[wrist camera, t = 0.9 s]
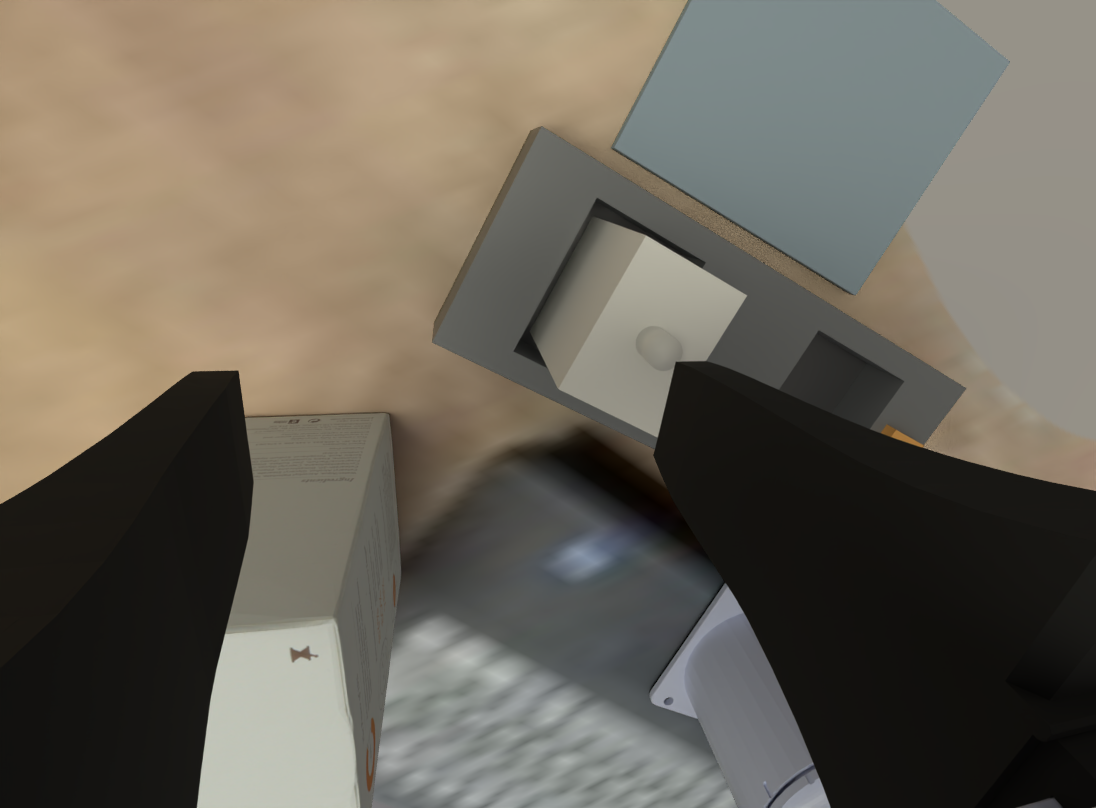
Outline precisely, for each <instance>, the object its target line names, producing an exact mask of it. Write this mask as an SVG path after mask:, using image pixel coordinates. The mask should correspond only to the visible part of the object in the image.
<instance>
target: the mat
mask: <svg viewBox="0 0 1096 808" xmlns="http://www.w3.org/2000/svg"><path fill="white" fill-rule="evenodd" d="M1009 63H1010V61H1008V60H1007V59H1006V58H1005V57H1004V56H1002V55H1001V54H1000V53H999V52H998V51H996V50H995V49H994V48H993V47H992V46H990V45H989V44H988V43H987V42H986V41H984V40H983V39H982V38H981V37H980V36H978V35H977V34H976V33H975V32H973V31H972V30H971V29H970V28H969V27H967V26H966V25H965V24H964V23H963V22H961V21H960V20H959V19H958V18H957V17H955V16H954V15H953V14H952V13H951V12H949V11H948V10H947V9H946V8H944V7H943V6H942V5H941V4H940V3H938V2H937V1H936V0H688V2H687V4H686V6H685V8H684V9H683V11H682V13H681V15H680V17H679V19H678V21H677V23H676V25H675V27H674V29H673V30H672V32H671V34H670V36H669V38H668V40H667V42H666V44H665V46H664V48H663V50H662V51H661V53H660V55H659V57H658V59H657V61H656V63H655V65H654V67H653V69H652V71H651V72H650V74H649V76H648V78H647V80H646V82H645V84H644V86H643V88H642V90H641V91H640V93H639V95H638V97H637V99H636V101H635V103H634V105H633V107H632V109H631V111H630V112H629V114H628V116H627V118H626V120H625V122H624V124H623V126H622V128H621V130H620V132H619V133H618V135H617V137H616V139H615V141H614V143H613V145H612V147H611V149H613V150H615V151H616V152H618V153H620V154H621V155H623V156H625V157H626V158H628V159H629V160H631V161H633V162H634V163H636V164H638V165H639V166H641V167H643V168H644V169H646V170H647V171H649V172H651V173H652V174H654V175H656V176H657V177H659V178H661V179H662V180H664V181H666V182H667V183H669V184H670V185H672V186H674V187H675V188H677V189H679V190H680V191H682V192H684V193H685V194H687V195H688V196H690V197H692V198H693V199H695V200H697V201H698V202H700V203H702V204H703V205H705V206H706V207H708V208H710V209H711V210H713V211H715V212H716V213H718V214H720V215H721V216H723V217H724V218H726V219H728V220H729V221H731V222H733V223H734V224H736V225H738V226H739V227H741V228H742V229H744V230H746V231H747V232H749V233H751V234H752V235H754V236H756V237H757V238H759V239H760V240H762V241H764V242H765V243H767V244H769V245H770V246H772V247H774V248H775V249H777V250H779V251H780V252H782V253H783V254H785V255H787V256H788V257H790V258H792V259H793V260H795V261H797V262H798V263H800V264H801V265H803V266H805V267H806V268H808V269H810V270H811V271H813V272H815V273H816V274H818V275H819V276H821V277H823V278H824V279H826V280H828V281H829V282H831V283H833V284H834V285H836V286H837V287H839V288H841V289H842V290H844V291H846V292H847V293H849V294H852V295H855V296H856V294H857V293H858V291H859V290H860V288H861V287H862V285H863V284H864V282H865V281H866V279H867V278H868V276H869V275H870V273H871V272H872V270H873V268H874V267H875V265H876V264H877V262H878V261H879V259H880V258H881V256H882V255H883V253H884V252H885V250H886V249H887V247H888V246H889V244H890V243H891V241H892V240H893V238H894V237H895V235H896V234H897V232H898V231H899V229H900V228H901V226H902V225H903V223H904V222H905V220H906V219H907V217H908V216H909V214H910V212H911V211H912V210H913V208H914V206H915V205H916V203H917V202H918V200H919V199H920V197H921V196H922V194H923V193H924V191H925V190H926V188H927V187H928V185H929V184H930V182H931V181H932V179H933V178H934V176H935V174H936V173H937V172H938V170H939V169H940V167H941V166H942V164H943V163H944V161H945V160H946V158H947V157H948V155H949V154H950V152H951V150H952V149H953V147H954V146H955V144H956V143H957V141H958V140H959V138H960V137H961V135H962V134H963V132H964V131H965V129H966V128H967V126H968V125H969V123H970V122H971V120H972V119H973V117H974V116H975V114H976V113H977V111H978V110H979V108H980V107H981V105H982V104H983V102H984V101H985V99H986V97H987V96H988V95H989V93H990V92H991V90H992V89H993V87H994V85H995V84H996V83H997V81H998V79H999V78H1000V76H1001V75H1002V73H1003V72H1004V70H1005V69H1006V67H1007V66H1008V64H1009Z"/></svg>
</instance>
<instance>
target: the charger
mask: <svg viewBox="0 0 1096 808" xmlns="http://www.w3.org/2000/svg"><path fill="white" fill-rule="evenodd" d="M746 297H747V295H745V294H744V293H742V292H740V291H739V290H737V289H735V288H734V287H732V286H730V285H729V284H727V283H725V282H724V281H722V280H720V279H719V278H717V277H715V276H714V275H712V274H710V273H708V272H707V271H705V270H703V269H702V268H700V267H698V266H697V265H695V264H693V263H692V262H690V261H688V260H687V259H685V258H683V257H682V256H680V255H678V254H677V253H675V252H673V251H672V250H670V249H668V248H666V247H665V246H663V245H661V244H660V243H658V242H656V241H655V240H653V239H651V238H650V237H648V236H646V235H644V234H641V233H638V232H635V231H633V230H630V229H627V228H624V227H622V226H619V225H616V224H613V223H610V222H608V221H605V220H602V219H599V218H597V217H594V216H593V217H592V219H591V220H590V222H589V224H588V226H587V228H586V230H585V231H584V233H583V235H582V237H581V239H580V241H579V242H578V244H577V246H576V248H575V250H574V252H573V253H572V255H571V257H570V259H569V261H568V263H567V264H566V266H565V268H564V270H563V272H562V273H561V275H560V277H559V279H558V281H557V283H556V284H555V286H554V288H553V290H552V292H551V294H550V295H549V297H548V299H547V301H546V303H545V305H544V306H543V308H542V310H541V312H540V314H539V316H538V317H537V319H536V321H535V323H534V325H533V326H532V328H531V330H530V333H531V335H532V337H533V339H534V341H535V343H536V345H537V347H538V349H539V351H540V353H541V355H542V357H543V359H544V361H545V364H546V366H547V368H548V370H549V372H550V374H551V376H552V378H553V380H554V382H555V384H556V386H557V388H558V389H559V390H561V391H563V392H565V393H567V394H569V395H571V396H573V397H575V398H577V399H579V400H582V401H584V402H586V403H588V404H590V405H592V406H594V407H596V408H598V409H600V410H602V411H604V412H606V413H608V414H610V415H612V416H614V417H616V418H618V419H620V420H623V421H625V422H627V423H629V424H631V425H633V426H635V427H637V428H639V429H641V430H643V431H645V432H647V433H649V434H651V435H653V436H655V437H657V438H658V434H659V430H660V426H661V422H662V417H663V413H664V409H665V405H666V401H667V396H668V392H669V388H670V384H671V379H672V375H673V371H674V367H675V363H676V362H682V361H706V360H707V359H708V357H709V355H710V354H711V352H712V351H713V349H714V347H715V346H716V344H717V343H718V341H719V340H720V338H721V336H722V335H723V333H724V332H725V330H726V328H727V327H728V325H729V324H730V322H731V320H732V319H733V317H734V316H735V314H736V313H737V311H738V309H739V308H740V306H741V305H742V303H743V301H744V300H745V298H746Z"/></svg>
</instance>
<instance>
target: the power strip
mask: <svg viewBox="0 0 1096 808" xmlns="http://www.w3.org/2000/svg"><path fill="white" fill-rule="evenodd" d="M593 216H594V217H597V218H599V219H602V220H605V221H608V222H610V223H613V224H616V225H619V226H622V227H624V228H627V229H630V230H633V231H635V232H638V233H641V234H644V235H646V236H648V237H650V238H651V239H653V240H655V241H656V242H658V243H660V244H661V245H663V246H665V247H666V248H668V249H670V250H672V251H673V252H675V253H677V254H678V255H680V256H682V257H683V258H685V259H687V260H688V261H690V262H692V263H693V264H695V265H697V266H698V267H700V268H702V269H703V270H705V271H707V272H708V273H710V274H712V275H714V276H715V277H717V278H719V279H720V280H722V281H724V282H725V283H727V284H729V285H730V286H732V287H734V288H735V289H737V290H739V291H740V292H742V293H744V294H745V295H747V297H746V298H745V300H744V301H743V303H742V305H741V306H740V308H739V309H738V311H737V313H736V314H735V316H734V317H733V319H732V320H731V322H730V324H729V325H728V327H727V328H726V330H725V332H724V333H723V335H722V336H721V338H720V340H719V341H718V343H717V344H716V346H715V347H714V349H713V351H712V352H711V354H710V355H709V357H708V359H707V360H706V361H708V362H711V363H715V364H718V365H721V366H724V367H727V368H729V369H732V370H734V371H737V372H739V373H742V374H744V375H746V376H749V377H751V378H753V379H756V380H758V381H760V382H762V383H765V384H767V385H769V386H771V387H773V388H776V389H778V390H780V391H782V392H785V393H787V394H789V395H791V396H793V397H796V398H798V399H800V400H802V401H804V402H807V403H809V404H811V405H814V406H816V407H818V408H820V409H823V410H825V411H827V412H830V413H832V414H834V415H837V416H839V417H841V418H844V419H846V420H849V421H851V422H854V423H856V424H859V425H861V426H864V427H866V428H869V429H871V430H874V431H876V432H879V433H882V434H884V435H887V436H890V437H892V438H895V439H898V440H901V441H904V442H907V443H910V444H913V445H916V446H919V447H922V448H923V447H924V444H925V442H926V441H927V440H928V438H929V437H930V436H931V435H932V433H933V432H934V431H935V429H936V428H937V427H938V425H939V424H940V423H941V421H942V420H943V419H944V417H945V416H946V415H947V413H948V412H949V411H950V409H951V408H952V407H953V405H954V404H955V403H956V401H957V400H958V399H959V397H960V396H961V395H962V393H963V392H964V391H965V389H966V388H965V387H963V386H962V385H960V384H958V383H957V382H955V381H954V380H952V379H950V378H949V377H947V376H945V375H944V374H942V373H941V372H939V371H937V370H936V369H934V368H933V367H931V366H929V365H928V364H926V363H924V362H923V361H921V360H920V359H918V358H916V357H915V356H913V355H911V354H910V353H908V352H907V351H905V350H903V349H902V348H900V347H898V346H897V345H895V344H894V343H892V342H890V341H889V340H887V339H886V338H884V337H882V336H881V335H879V334H877V333H876V332H874V331H873V330H871V329H869V328H868V327H866V326H864V325H863V324H861V323H860V322H858V321H856V320H855V319H853V318H851V317H850V316H848V315H847V314H845V313H843V312H842V311H840V310H839V309H837V308H835V307H834V306H832V305H830V304H829V303H827V302H826V301H824V300H822V299H821V298H819V297H817V296H816V295H814V294H813V293H811V292H809V291H808V290H806V289H804V288H803V287H801V286H800V285H798V284H796V283H795V282H793V281H792V280H790V279H788V278H787V277H785V276H783V275H782V274H780V273H779V272H777V271H775V270H774V269H772V268H770V267H769V266H767V265H766V264H764V263H762V262H761V261H759V260H757V259H756V258H754V257H753V256H751V255H749V254H748V253H746V252H745V251H743V250H741V249H740V248H738V247H736V246H735V245H733V244H732V243H730V242H728V241H727V240H725V239H723V238H722V237H720V236H719V235H717V234H715V233H714V232H712V231H711V230H709V229H707V228H706V227H704V226H702V225H701V224H699V223H698V222H696V221H694V220H693V219H691V218H689V217H688V216H686V215H685V214H683V213H681V212H680V211H678V210H676V209H675V208H673V207H672V206H670V205H668V204H667V203H665V202H664V201H662V200H660V199H659V198H657V197H655V196H654V195H652V194H651V193H649V192H647V191H646V190H644V189H642V188H641V187H639V186H638V185H636V184H634V183H633V182H631V181H629V180H628V179H626V178H625V177H623V176H621V175H620V174H618V173H617V172H615V171H613V170H612V169H610V168H608V167H607V166H605V165H604V164H602V163H600V162H599V161H597V160H595V159H594V158H592V157H591V156H589V155H587V154H586V153H584V152H582V151H581V150H579V149H578V148H576V147H574V146H573V145H571V144H570V143H568V142H566V141H565V140H563V139H561V138H560V137H558V136H557V135H555V134H553V133H552V132H550V131H548V130H547V129H545V128H544V127H542V126H541V127H538V128H536V129H533V130H531V131H530V133H529V135H528V137H527V139H526V141H525V143H524V145H523V147H522V149H521V151H520V153H519V155H518V157H517V159H516V161H515V163H514V165H513V167H512V169H511V171H510V173H509V175H508V177H507V179H506V181H505V183H504V185H503V187H502V189H501V191H500V193H499V195H498V197H497V199H496V201H495V202H494V204H493V206H492V208H491V210H490V212H489V214H488V216H487V218H486V220H485V222H484V224H483V226H482V228H481V230H480V232H479V234H478V236H477V238H476V240H475V242H474V244H473V246H472V248H471V250H470V252H469V254H468V256H467V258H466V260H465V262H464V264H463V266H462V268H461V270H460V272H459V274H458V276H457V278H456V280H455V282H454V284H453V286H452V288H451V290H450V292H449V294H448V296H447V298H446V300H445V302H444V304H443V306H442V308H441V310H440V312H439V314H438V316H437V318H436V320H435V322H434V329H433V339H432V343H434V344H436V345H439V346H441V347H443V348H445V349H447V350H449V351H451V352H453V353H455V354H457V355H459V356H461V357H464V358H466V359H468V360H470V361H472V362H474V363H476V364H478V365H480V366H482V367H484V368H486V369H489V370H491V371H493V372H495V373H497V374H499V375H501V376H503V377H505V378H507V379H509V380H511V381H513V382H516V383H518V384H520V385H522V386H524V387H526V388H528V389H530V390H532V391H534V392H536V393H538V394H541V395H543V396H545V397H547V398H549V399H551V400H553V401H555V402H557V403H559V404H561V405H563V406H566V407H568V408H570V409H572V410H574V411H576V412H578V413H580V414H582V415H584V416H586V417H588V418H591V419H593V420H595V421H597V422H599V423H601V424H603V425H605V426H607V427H609V428H611V429H613V430H616V431H618V432H620V433H622V434H624V435H626V436H628V437H630V438H632V439H634V440H636V441H638V442H641V443H643V444H645V445H647V446H649V447H651V448H653V449H655V447H656V443H657V437H655V436H653V435H651V434H649V433H647V432H645V431H643V430H641V429H639V428H637V427H635V426H633V425H631V424H629V423H627V422H625V421H623V420H620V419H618V418H616V417H614V416H612V415H610V414H608V413H606V412H604V411H602V410H600V409H598V408H596V407H594V406H592V405H590V404H588V403H586V402H584V401H582V400H579V399H577V398H575V397H573V396H571V395H569V394H567V393H565V392H563V391H561V390H559V389H558V388H557V386H556V384H555V382H554V380H553V378H552V376H551V374H550V372H549V370H548V368H547V366H546V364H545V361H544V359H543V357H542V355H541V353H540V351H539V349H538V347H537V345H536V343H535V341H534V339H533V337H532V335H531V333H530V330H531V328H532V326H533V325H534V323H535V321H536V319H537V317H538V316H539V314H540V312H541V310H542V308H543V306H544V305H545V303H546V301H547V299H548V297H549V295H550V294H551V292H552V290H553V288H554V286H555V284H556V283H557V281H558V279H559V277H560V275H561V273H562V272H563V270H564V268H565V266H566V264H567V263H568V261H569V259H570V257H571V255H572V253H573V252H574V250H575V248H576V246H577V244H578V242H579V241H580V239H581V237H582V235H583V233H584V231H585V230H586V228H587V226H588V224H589V222H590V220H591V219H592V217H593Z"/></svg>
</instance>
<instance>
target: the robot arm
mask: <svg viewBox="0 0 1096 808" xmlns="http://www.w3.org/2000/svg"><path fill="white" fill-rule="evenodd" d="M653 456H654V458H655V460H656V463H657V465H658V468H659V470H660V473H661V475H662V477H663V480H664V482H665V484H666V486H667V488H668V491H669V493H670V495H671V497H672V499H673V501H674V503H675V504H676V506H677V508H678V509H679V511H680V512H681V514H682V516H683V517H684V519H685V520H686V522H687V524H688V525H689V527H690V528H691V530H692V532H693V533H694V535H695V536H696V538H697V539H698V541H699V543H700V544H701V546H702V547H703V549H704V550H705V552H706V553H707V555H708V556H709V558H710V560H711V561H712V563H713V564H714V566H715V567H716V569H717V570H718V572H719V574H720V575H721V577H722V578H723V580H724V581H725V584H724V585H723V587H722V588H721V590H720V591H719V593H718V594H717V596H716V597H715V598H714V600H713V601H712V603H711V604H710V606H709V607H708V609H707V610H706V611H705V613H704V614H703V616H702V617H701V619H700V620H699V622H698V623H697V625H696V626H695V627H694V629H693V630H692V632H691V633H690V635H689V636H688V638H687V639H686V640H685V642H684V643H683V645H682V646H681V648H680V649H679V651H678V652H677V653H676V655H675V656H674V658H673V659H672V661H671V662H670V664H669V665H668V667H667V668H666V669H665V671H664V672H663V674H662V675H661V677H660V678H659V680H658V681H657V682H656V684H655V685H654V687H653V688H652V690H651V691H650V694H649V695H650V699H651V702H652V703H653V704H654V705H657V706H660V707H663V708H666V709H669V710H672V711H675V712H678V713H681V714H684V715H687V716H690V717H693V718H696V719H698V720H699V722H700V724H701V726H702V729H703V731H704V733H705V735H706V738H707V740H708V742H709V744H710V746H711V749H712V751H713V753H714V755H715V758H716V760H717V762H718V764H719V767H720V769H721V771H722V773H723V775H724V778H725V780H726V782H727V784H728V787H729V789H730V791H731V793H732V796H733V798H734V800H735V802H736V805H737V807H738V808H1096V491H1093V490H1088V489H1083V488H1077V487H1072V486H1067V485H1062V484H1057V483H1052V482H1048V481H1043V480H1039V479H1034V478H1030V477H1026V476H1021V475H1017V474H1013V473H1009V472H1005V471H1001V470H998V469H994V468H990V467H986V466H982V465H979V464H975V463H971V462H967V461H964V460H960V459H957V458H954V457H950V456H947V455H943V454H940V453H937V452H934V451H931V450H928V449H925V448H922V447H919V446H916V445H913V444H910V443H907V442H904V441H901V440H898V439H895V438H892V437H890V436H887V435H884V434H882V433H879V432H876V431H874V430H871V429H869V428H866V427H864V426H861V425H859V424H856V423H854V422H851V421H849V420H846V419H844V418H841V417H839V416H837V415H834V414H832V413H830V412H827V411H825V410H823V409H820V408H818V407H816V406H814V405H811V404H809V403H807V402H804V401H802V400H800V399H798V398H796V397H793V396H791V395H789V394H787V393H785V392H782V391H780V390H778V389H776V388H773V387H771V386H769V385H767V384H765V383H762V382H760V381H758V380H756V379H753V378H751V377H749V376H746V375H744V374H742V373H739V372H737V371H734V370H732V369H729V368H727V367H724V366H721V365H718V364H715V363H711V362H708V361H682V362H676V363H675V367H674V371H673V375H672V379H671V384H670V388H669V392H668V396H667V401H666V405H665V409H664V413H663V417H662V422H661V426H660V430H659V434H658V438H657V443H656V447H655V451H654V455H653ZM253 485H254V480H253V473H252V465H251V458H250V451H249V444H248V437H247V429H246V422H245V415H244V408H243V401H242V393H241V386H240V379H239V372H238V371H198V372H191V373H190V374H188V375H187V376H185V377H184V378H183V379H181V380H180V381H179V382H177V383H176V384H175V385H173V386H172V387H171V388H169V389H168V390H167V391H166V392H164V393H163V394H162V395H161V396H159V397H158V398H157V399H155V400H154V401H153V402H152V403H150V404H149V405H148V406H146V407H145V408H144V409H143V410H141V411H140V412H139V413H137V414H136V415H135V416H133V417H132V418H131V419H129V420H128V421H127V422H125V423H124V424H123V425H121V426H120V427H119V428H117V429H116V430H115V431H113V432H112V433H111V434H109V435H108V436H107V437H105V438H104V439H102V440H101V441H99V442H98V443H96V444H95V445H93V446H92V447H90V448H89V449H87V450H86V451H84V452H83V453H81V454H80V455H79V456H77V457H76V458H74V459H73V460H71V461H70V462H68V463H67V464H65V465H64V466H62V467H61V468H59V469H58V470H56V471H55V472H53V473H52V474H50V475H49V476H47V477H46V478H44V479H42V480H41V481H39V482H38V483H36V484H34V485H33V486H31V487H29V488H28V489H26V490H24V491H23V492H21V493H19V494H18V495H16V496H14V497H12V498H11V499H9V500H7V501H5V502H3V503H2V504H0V808H197V803H198V795H199V786H200V778H201V769H202V761H203V754H204V746H205V738H206V731H207V723H208V716H209V708H210V700H211V695H212V690H213V685H214V680H215V675H216V669H217V665H218V661H219V657H220V653H221V649H222V645H223V641H224V637H225V633H226V628H227V624H228V620H229V616H230V612H231V608H232V604H233V600H234V596H235V592H236V588H237V584H238V580H239V576H240V571H241V567H242V563H243V559H244V555H245V550H246V546H247V542H248V537H249V528H250V518H251V508H252V497H253ZM668 697H670V698H669V699H666V698H668Z"/></svg>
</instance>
